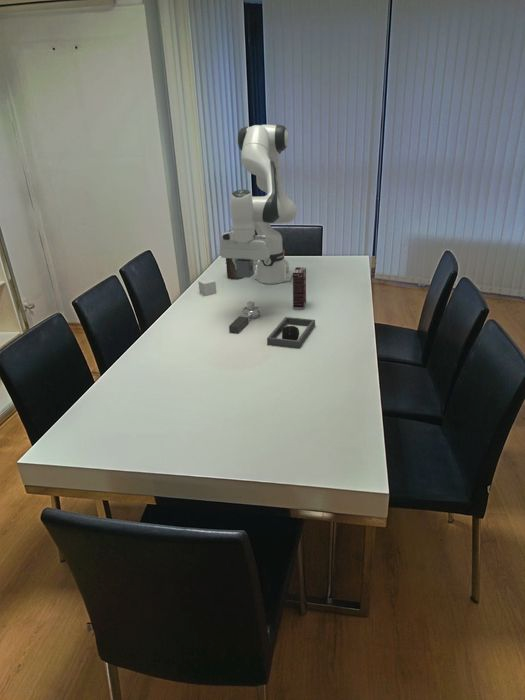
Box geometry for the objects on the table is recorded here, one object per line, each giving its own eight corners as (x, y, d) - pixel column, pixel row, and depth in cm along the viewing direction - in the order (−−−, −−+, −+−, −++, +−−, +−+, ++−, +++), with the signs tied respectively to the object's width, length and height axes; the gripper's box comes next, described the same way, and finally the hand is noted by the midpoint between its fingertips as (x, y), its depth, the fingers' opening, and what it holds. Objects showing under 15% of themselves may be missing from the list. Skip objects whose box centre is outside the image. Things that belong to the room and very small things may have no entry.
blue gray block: (242, 273, 197) (241, 257, 194) (254, 273, 195) (253, 258, 192) (237, 276, 192) (236, 260, 190) (249, 277, 191) (248, 261, 188)
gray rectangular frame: (285, 322, 192) (285, 316, 191) (315, 325, 188) (315, 319, 187) (267, 344, 175) (266, 338, 174) (299, 348, 171) (299, 341, 170)
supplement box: (304, 309, 204) (303, 273, 198) (292, 309, 205) (292, 273, 199) (306, 302, 212) (306, 267, 205) (295, 302, 213) (295, 267, 206)
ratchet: (246, 312, 205) (246, 298, 202) (262, 313, 203) (261, 300, 200) (225, 332, 187) (224, 317, 184) (242, 334, 185) (241, 319, 182)
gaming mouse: (280, 347, 174) (279, 337, 172) (282, 330, 187) (282, 321, 185) (297, 347, 173) (297, 337, 171) (299, 330, 186) (299, 321, 184)
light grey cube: (216, 293, 229) (215, 281, 226) (205, 296, 226) (203, 284, 223) (210, 290, 233) (209, 278, 231) (199, 293, 231) (198, 281, 228)
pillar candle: (224, 279, 248) (222, 250, 242) (230, 273, 257) (229, 245, 250) (242, 280, 246) (240, 251, 239) (248, 274, 254) (246, 246, 247)
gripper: (271, 233, 186) (273, 269, 192) (223, 232, 193) (226, 266, 199) (265, 237, 181) (267, 273, 187) (216, 235, 188) (219, 270, 194)
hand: (245, 269), depth 193 cm, fingers closed on blue gray block, 5 cm apart
